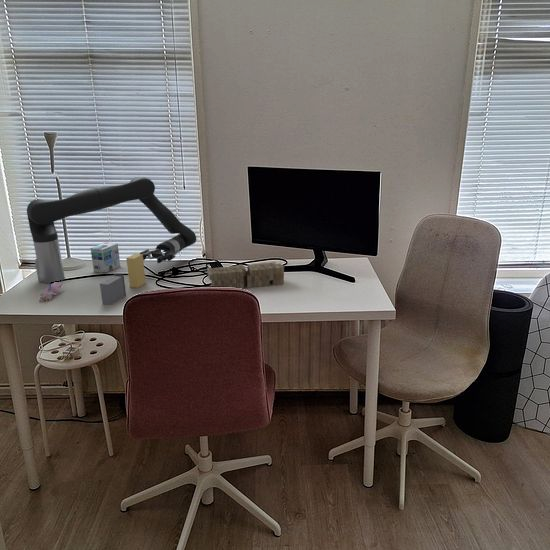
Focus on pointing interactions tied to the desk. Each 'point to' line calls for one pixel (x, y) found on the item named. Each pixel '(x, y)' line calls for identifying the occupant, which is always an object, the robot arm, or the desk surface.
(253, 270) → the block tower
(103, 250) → the light bulb box
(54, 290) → the rabbit figure
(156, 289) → the desk surface
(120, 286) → the blue-grey block
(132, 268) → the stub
